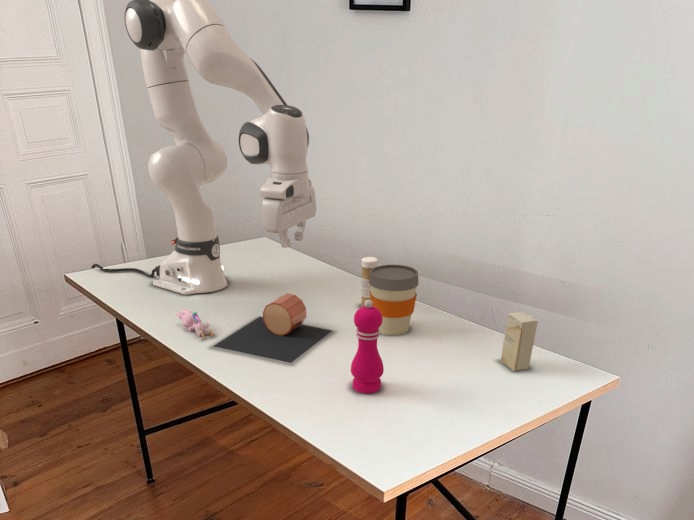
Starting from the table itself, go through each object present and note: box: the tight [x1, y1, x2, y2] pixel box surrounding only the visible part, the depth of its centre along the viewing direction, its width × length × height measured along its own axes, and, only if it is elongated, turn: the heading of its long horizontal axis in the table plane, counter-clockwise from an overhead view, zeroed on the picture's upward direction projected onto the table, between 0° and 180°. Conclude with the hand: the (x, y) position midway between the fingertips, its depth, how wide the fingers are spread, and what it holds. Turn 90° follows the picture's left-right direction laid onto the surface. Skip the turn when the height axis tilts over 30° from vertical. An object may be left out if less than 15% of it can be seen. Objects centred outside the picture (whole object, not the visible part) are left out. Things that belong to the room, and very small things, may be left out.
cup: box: [262, 293, 307, 336], centre depth 175 cm, size 8×8×8 cm
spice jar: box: [360, 256, 379, 307], centre depth 189 cm, size 5×5×13 cm
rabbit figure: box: [175, 309, 215, 340], centre depth 176 cm, size 6×6×15 cm
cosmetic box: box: [500, 310, 539, 372], centre depth 159 cm, size 6×4×12 cm
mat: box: [213, 316, 333, 364], centre depth 173 cm, size 22×22×1 cm
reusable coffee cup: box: [369, 264, 419, 336], centre depth 176 cm, size 13×13×15 cm
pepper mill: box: [350, 300, 385, 394], centre depth 146 cm, size 7×7×20 cm
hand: (292, 243), depth 170 cm, fingers open, 5 cm apart
